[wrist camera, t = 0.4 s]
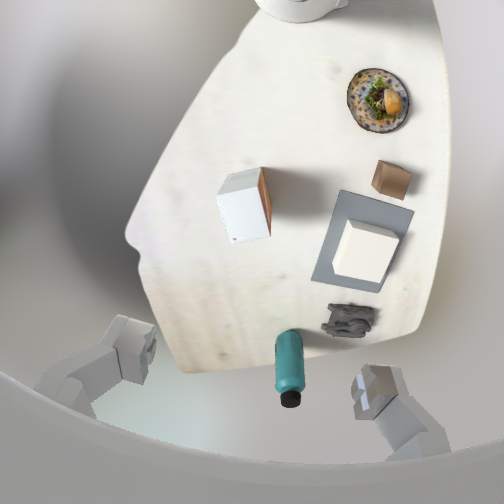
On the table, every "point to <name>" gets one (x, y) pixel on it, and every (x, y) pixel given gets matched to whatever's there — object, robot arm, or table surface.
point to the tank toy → (349, 321)
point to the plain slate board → (366, 213)
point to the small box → (245, 206)
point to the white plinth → (364, 251)
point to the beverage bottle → (289, 368)
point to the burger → (377, 100)
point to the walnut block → (391, 180)
